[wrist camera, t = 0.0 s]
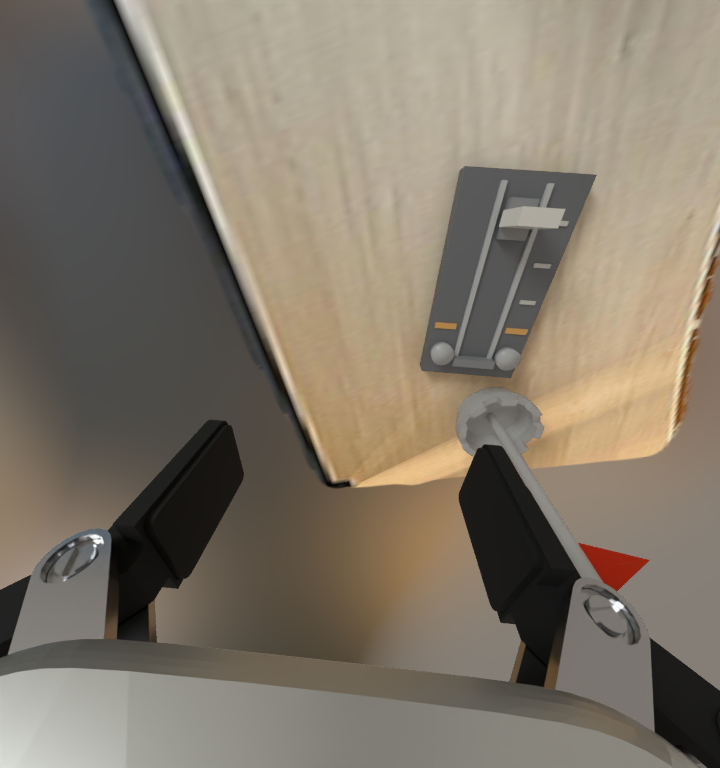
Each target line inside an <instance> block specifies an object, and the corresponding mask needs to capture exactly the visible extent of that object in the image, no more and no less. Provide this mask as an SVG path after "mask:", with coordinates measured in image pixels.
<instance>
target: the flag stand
mask: <svg viewBox="0 0 720 768" xmlns="http://www.w3.org/2000/svg"><path fill="white" fill-rule="evenodd" d="M541 415H542V414H541V412H540V411H539V409H538V408H537V407H536V406H535V405H534V404H533V403H532V402H531V401H530V400H529V399H528V398H526V397H525V396H523V395H521V394H517V393H513V392H512V391H510V390H508V389H504V388H498V387H493V388H486V389H482V390H479V391H477V392H475V393H473V394H472V395H470V396H469V397H468V398H466V399H465V400H464V401H463V403H462V404H461V406H460V407H459V410H458V413H457V422H456V433H457V436H458V439H459V441H460V443H461V444H462V447H463V449H464V450H465V451H466V452H467V453H468V454H470V455H471V456H473V455H474V454H475V453H476V451H477V449H478V448H481V447H482V446H483V445H484V444H488V445H500V446H502V447H503V448H504V450H505V451H506V453H507V454H508V456H509V457H510V459H511V461H512V462H513V464H514V466H515V468H516V469H517V471H518V473H519V474H520V476H521V478H522V480H523V481H524V483H525V485H526V486H527V488H528V489H529V490H530V492H531V493H532V495H533V497H534V498H535V500H536V502H537V503H538V505H539V507H540V509H541V510H542V512H543V514H544V515H545V517H546V519H547V520H548V522H549V524H550V525H551V527H552V529H553V531H554V532H555V534H556V536H557V537H558V539H559V541H560V542H561V544H562V546H563V547H564V549H565V551H566V552H567V554H568V556H569V558H570V559H571V561H572V563H573V564H574V566H575V568H576V569H577V571H578V573H579V574H580V576H581V578H593V579H596V580H599V581H601V582H603V583H605V584H606V585H608V586H610V587H612V588H613V589H614V590H615V591H618V590H619V589H620V588H621V587H622V586H623V585H624V584H625V583H626V582H627V581H628V580H629V579H630V578H631V577H632V576H633V575H635V574H636V573H637V572H638V571H639V570H640V569H641V568H642V567H643V566H644V565H645V564H646V563H647V562H648V561H649V560H647V559H642V558H639V557H634V556H630V555H626V554H622V553H618V552H614V551H609V550H605V549H601V548H597V547H593V546H589V545H585V544H581V543H577V541H576V539H575V538H574V536H573V535H572V533H571V532H570V530H569V529H568V527H567V525H566V524H565V522H564V521H563V519H562V518H561V516H560V515H559V513H558V512H557V510H556V508H555V507H554V505H553V504H552V502H551V501H550V499H549V498H548V496H547V495H546V493H545V491H544V490H543V488H542V487H541V485H540V484H539V482H538V481H537V479H536V478H535V476H534V474H533V473H532V471H531V470H530V468H529V467H528V465H527V464H526V462H525V460H524V459H523V457H522V456H521V454H522V453H524V452H525V451H527V450H529V448H528V447H527V445H526V444H527V443H528V442H529V441H530V440H531V439H532V438H538V439H540V437H541V435H542V433H543V430H544V426H543V425H542V423H541V422H540V416H541Z"/></svg>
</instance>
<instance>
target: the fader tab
mask: <svg viewBox="0 0 720 768" xmlns="http://www.w3.org/2000/svg"><path fill="white" fill-rule="evenodd" d="M539 200H540V199H533V198H518V197H511V198H508V200H507V204H506V207H505V210H504V211H503V214H502V218H501V221H500V224H499V227H500V228H499V231H498V234H497V238H496V239H502V240H516V241H526V238H527V235H528V232H529V229H558V227H559V225H560V222H561V220H562V217H563V215H564V212H565V210H566V209H558V208H543V207H537V206H538V203H539Z"/></svg>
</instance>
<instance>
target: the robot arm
mask: <svg viewBox="0 0 720 768" xmlns="http://www.w3.org/2000/svg"><path fill="white" fill-rule="evenodd" d="M243 476H244V472H243V468H242V464H241V460H240V457H239V453H238V449H237V445H236V441H235V437H234V433H233V429H232V427H231V426H230V425H228V423H227V422H226V421H219V420H208V421H207V422H206V423H205V424H204V425H203V426H202V427H201V428H200V429H199V431H198V432H197V433H196V434H195V435H194V436H193V437H192V438H191V439H190V441H189V442H188V443H187V444H186V445H185V446H184V447H183V448H182V449H181V450H180V451H179V452H178V453H177V454H176V456H175V457H174V458H173V459H172V460H171V461H170V462H169V464H167V465H166V467H165V468H164V469H163V470H162V471H161V472H160V473H159V474H158V475H157V476H156V477H155V478H154V480H153V481H152V482H151V483H150V484H149V485H148V486H147V487H146V488H145V489H144V490H143V491H142V493H141V494H140V495H139V496H138V497H137V498H136V499H135V500H134V501H133V502H132V503H131V505H130V506H129V507H128V508H127V509H126V510H125V511H124V512H123V513H122V514H121V516H120V517H119V518H118V519H117V520H116V521H115V522H114V523H113V526H112V527H111V528H110V529H109V530H108V531H107V530H104V529H90V530H86V531H83V532H80V533H77V534H75V535H73V536H71V537H70V538H67V539H66V540H64V541H63V542H61V543H60V544H58V545H57V546H55V547H54V548H53V549H52V550H51V551H49V552H48V553H47V554H46V555H45V556H44V557H43V558H42V559H41V561H40V562H39V563H38V564H37V565H36V567H35V569H34V571H33V573H32V575H30V576H28V577H25V578H23V579H21V580H19V581H17V582H15V583H13V584H12V585H9V586H7V587H5V588H3V589H1V590H0V768H720V691H719V690H718V689H717V688H715V687H714V686H713V685H711V684H710V683H708V682H707V681H706V680H705V679H703V678H702V677H701V676H699V675H698V674H697V673H696V672H694V671H693V670H692V669H690V668H689V667H688V666H686V665H685V664H684V663H682V662H681V661H680V660H678V659H677V658H676V657H674V656H673V655H672V654H670V653H669V652H668V651H667V650H665V649H664V648H663V647H661V646H660V645H659V644H657V643H656V642H655V641H653V640H652V639H651V638H649V634H648V630H647V628H646V626H645V624H644V622H643V620H642V618H641V617H640V616H639V614H638V613H637V612H636V610H635V609H634V608H633V606H632V605H631V604H630V603H629V602H628V601H627V600H626V599H625V598H624V597H623V596H622V595H620V594H619V593H618V592H617V591H615V590H614V589H613V588H612V587H610V586H608V585H606V584H605V583H603V582H601V581H599V580H596V579H593V578H581V576H580V574H579V573H578V571H577V569H576V568H575V566H574V564H573V563H572V561H571V559H570V558H569V556H568V554H567V552H566V551H565V549H564V547H563V546H562V544H561V542H560V541H559V539H558V537H557V536H556V534H555V532H554V531H553V529H552V527H551V525H550V524H549V522H548V520H547V519H546V517H545V515H544V514H543V512H542V510H541V509H540V507H539V505H538V503H537V502H536V500H535V498H534V497H533V495H532V493H531V492H530V490H529V489H528V488H527V487H526V486H525V484H524V482H523V480H522V479H521V477H520V475H519V474H518V472H517V470H516V469H515V467H514V465H513V463H512V462H511V460H510V458H509V457H508V455H507V453H506V451H505V450H504V448H503V447H502V446H500V445H488V444H484V445H483V446H482V447H481V448H478V449H477V451H476V453H475V456H474V458H473V461H472V463H471V465H470V468H469V470H468V473H467V475H466V478H465V480H464V482H463V485H462V487H461V490H460V492H459V503H460V506H461V509H462V513H463V516H464V519H465V523H466V526H467V529H468V533H469V536H470V539H471V543H472V546H473V549H474V553H475V556H476V559H477V562H478V566H479V569H480V572H481V575H482V579H483V582H484V586H485V589H486V592H487V595H488V599H489V602H490V605H491V607H492V608H493V609H494V610H495V611H497V612H498V616H499V619H500V622H501V623H509V624H516V627H517V630H518V633H519V635H520V638H521V643H520V646H519V650H518V653H517V657H516V661H515V664H514V667H513V671H512V674H511V678H510V681H509V682H505V681H498V680H491V679H483V678H476V677H468V676H459V675H451V674H442V673H432V672H425V671H416V670H407V669H399V668H390V667H380V666H372V665H363V664H354V663H345V662H336V661H327V660H318V659H309V658H300V657H291V656H282V655H272V654H263V653H254V652H244V651H235V650H225V649H216V648H206V647H197V646H187V645H177V644H166V643H157V636H156V615H155V598H156V596H157V594H158V593H159V591H160V590H161V588H162V587H167V588H176V589H178V588H179V586H180V584H181V582H182V581H183V579H185V578H187V577H189V575H190V574H191V573H192V571H193V569H194V568H195V566H196V564H197V562H198V560H199V559H200V557H201V555H202V553H203V551H204V549H205V547H206V546H207V544H208V542H209V540H210V539H211V537H212V535H213V533H214V531H215V529H216V528H217V526H218V524H219V522H220V520H221V519H222V517H223V515H224V513H225V511H226V510H227V508H228V506H229V504H230V502H231V501H232V499H233V497H234V495H235V493H236V492H237V490H238V488H239V486H240V484H241V482H242V480H243Z"/></svg>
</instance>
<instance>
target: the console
mask: <svg viewBox="0 0 720 768" xmlns="http://www.w3.org/2000/svg"><path fill="white" fill-rule="evenodd" d="M595 177H596V175H591V174H576V173H560V172H545V171H529V170H514V169H499V168H483V167H468V166H465V167H464V168H462V169H461V170H460V172H459V177H458V182H457V187H456V192H455V197H454V202H453V206H452V211H451V216H450V221H449V226H448V231H447V236H446V241H445V245H444V250H443V255H442V260H441V265H440V270H439V275H438V280H437V285H436V289H435V294H434V299H433V304H432V309H431V314H430V319H429V324H428V329H427V333H426V338H425V343H424V348H423V353H422V358H421V363H420V366H421V370H422V371H433V372H445V373H457V374H469V375H481V376H493V377H505V378H511V376H512V374H513V371H514V369H515V367H517V366H518V364H519V363H520V360H521V356H520V355H521V353H522V350H523V348H524V345H525V343H526V341H527V338H528V336H529V334H530V331H531V329H532V326H533V324H534V322H535V319H536V317H537V315H538V312H539V310H540V308H541V305H542V303H543V300H544V298H545V296H546V293H547V291H548V289H549V286H550V284H551V282H552V279H553V277H554V274H555V272H556V270H557V267H558V265H559V263H560V260H561V258H562V256H563V253H564V251H565V248H566V246H567V244H568V241H569V239H570V237H571V234H572V232H573V230H574V227H575V225H576V222H577V220H578V218H579V215H580V213H581V211H582V208H583V206H584V203H585V201H586V199H587V196H588V194H589V192H590V189H591V187H592V185H593V182H594V180H595ZM511 197H518V198H533V199H540V200H539V203H538V206H537V207H543V208H558V209H566V210H565V212H564V215H563V217H562V220H561V222H560V225H559V227H558V229H529V232H528V235H527V238H526V241H516V240H502V239H496V238H497V234H498V231H499V228H500V227H499V224H500V221H501V218H502V214H503V211H504V210H505V207H506V204H507V200H508V198H511Z"/></svg>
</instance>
